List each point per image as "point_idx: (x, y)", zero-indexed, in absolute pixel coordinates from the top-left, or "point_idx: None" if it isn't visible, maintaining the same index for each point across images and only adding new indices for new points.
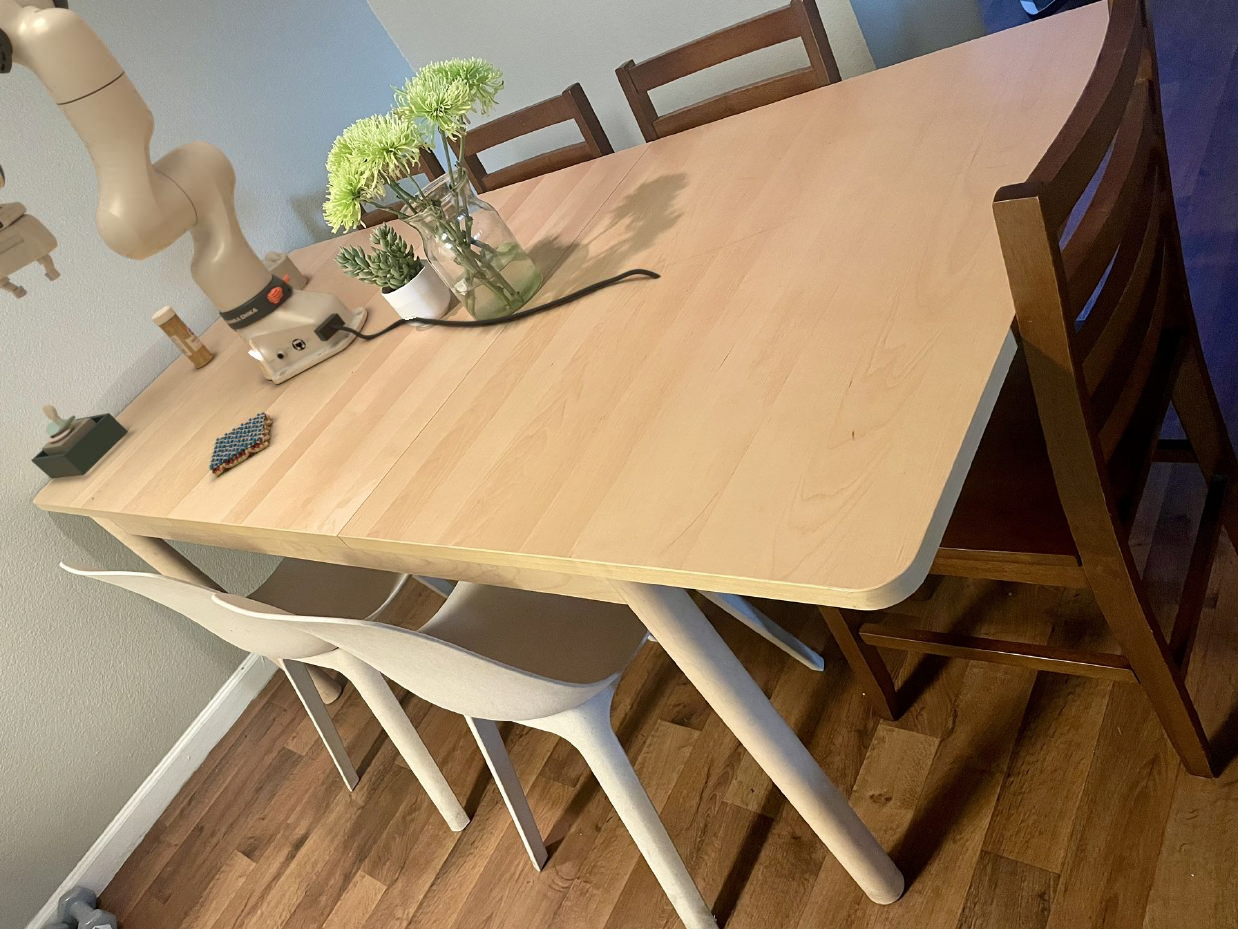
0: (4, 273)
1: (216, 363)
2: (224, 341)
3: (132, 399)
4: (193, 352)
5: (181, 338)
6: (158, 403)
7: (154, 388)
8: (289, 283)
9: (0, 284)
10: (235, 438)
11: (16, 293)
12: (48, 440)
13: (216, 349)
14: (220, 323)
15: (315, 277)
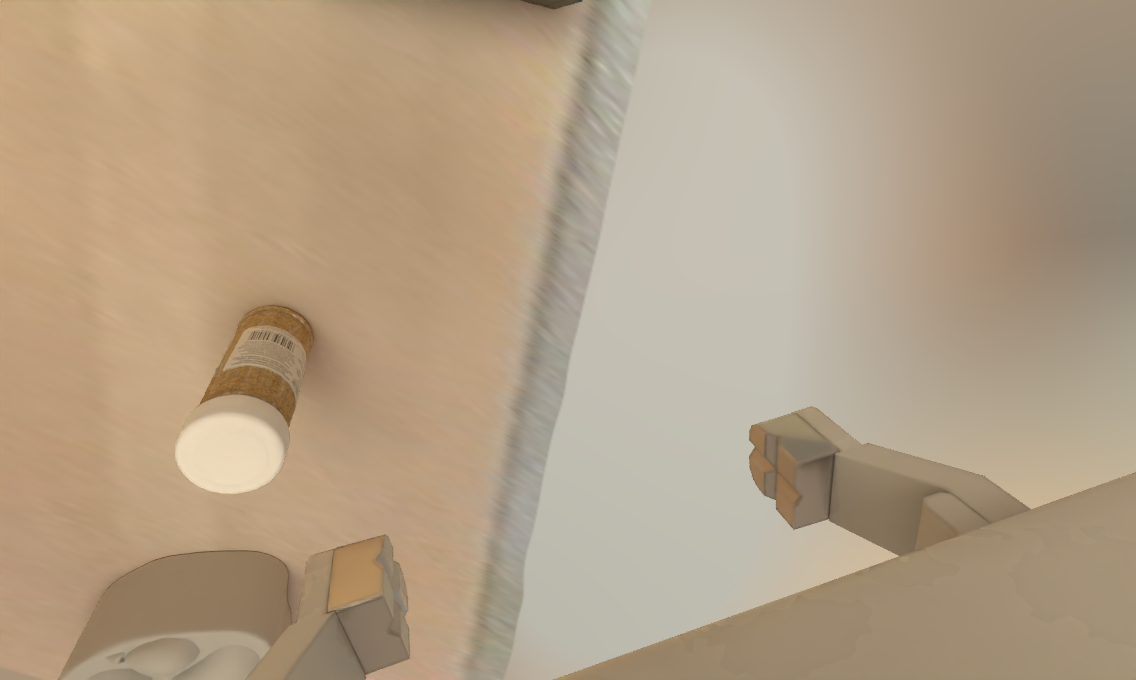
0: (839, 611)
1: (170, 304)
2: (291, 430)
3: (567, 234)
4: (237, 335)
5: (221, 366)
6: (329, 139)
7: (480, 262)
8: (88, 623)
9: (967, 503)
10: None
11: (805, 437)
12: None
13: None
14: (449, 530)
15: None
